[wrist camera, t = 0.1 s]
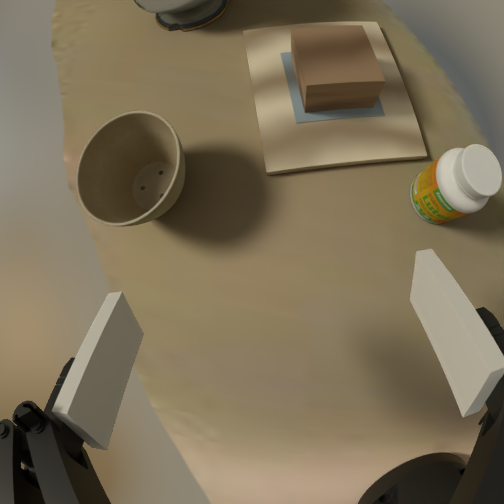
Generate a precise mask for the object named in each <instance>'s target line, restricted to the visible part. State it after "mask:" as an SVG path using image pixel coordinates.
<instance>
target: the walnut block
mask: <svg viewBox="0 0 504 504" xmlns="http://www.w3.org/2000/svg"><path fill="white" fill-rule="evenodd" d="M291 59H292V63H293V67H294V71H295V75H296V79H297V83H298V87H299V91H300V95H301V99H302V104H303V108H304V112H305V113H309V112H318V111H329V110H340V109H354V108H371V107H374V105H375V103H376V101H377V98H378V96H379V94H380V92H381V90H382V88H383V86H384V83H385V78H384V76H383V73H382V71H381V68H380V65H379V63H378V60H377V58H376V56H375V53H374V51H373V48H372V46H371V44H370V41H369V39H368V37H367V35H366V32H365V30H364V28H363V26H362V25H341V26H317V27H303V28H291Z"/></svg>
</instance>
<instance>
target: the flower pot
mask: <svg viewBox="0 0 504 504" xmlns="http://www.w3.org/2000/svg"><path fill="white" fill-rule="evenodd" d="M160 171H161V174H159V173H160ZM185 174H186V165H185V157H184V152H183V148H182V145H181V142H180V140H179V138H178V136H177V134H176V132H175V130H174V128H173V127H172V126H171V124H170V123H169V122H168V121H167V120H166V119H164V118H163V117H161V116H160V115H158V114H156V113H153V112H149V111H132V112H127V113H124V114H121V115H119V116H116V117H114V118H113V119H111V120H109V121H108V122H107V123H105V124H104V125H103V126H102V127H100V128H99V129H98V130H97V131H96V132H95V134H94V135H93V136H92V137H91V138H90V140H89V141H88V143H87V144H86V146H85V148H84V150H83V152H82V154H81V157H80V160H79V163H78V168H77V175H76V187H77V193H78V197H79V200H80V202H81V204H82V206H83V208H84V209H85V211H86V212H87V213H88V214H89V215H90V216H91V217H92V218H93V219H94V220H96V221H98V222H100V223H102V224H105V225H110V226H133V225H138V224H143V223H146V222H149V221H151V220H153V219H155V218H157V217H159V216H161V215H162V214H164V213H165V212H166V211H168V210H169V209H170V208H171V207H172V206H173V205H174V203H175V202H176V201H177V199H178V197H179V196H180V194H181V191H182V189H183V186H184V181H185ZM142 189H144V190H142ZM162 194H163V195H164V196H163V195H162Z"/></svg>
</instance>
